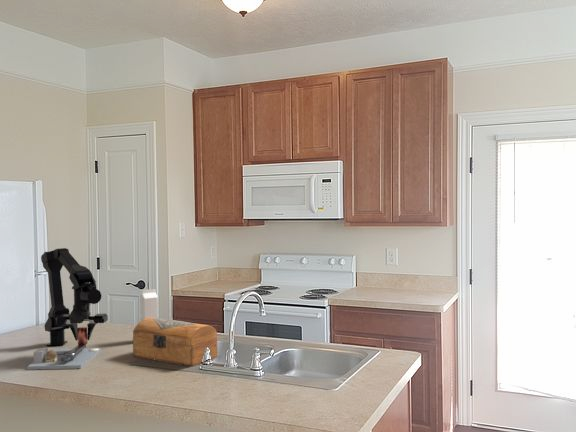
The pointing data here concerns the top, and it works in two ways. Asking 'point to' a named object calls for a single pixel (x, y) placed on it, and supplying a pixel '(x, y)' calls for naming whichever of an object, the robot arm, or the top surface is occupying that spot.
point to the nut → (51, 355)
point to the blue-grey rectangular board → (73, 363)
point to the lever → (81, 345)
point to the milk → (149, 304)
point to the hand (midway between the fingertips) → (82, 340)
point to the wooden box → (173, 341)
